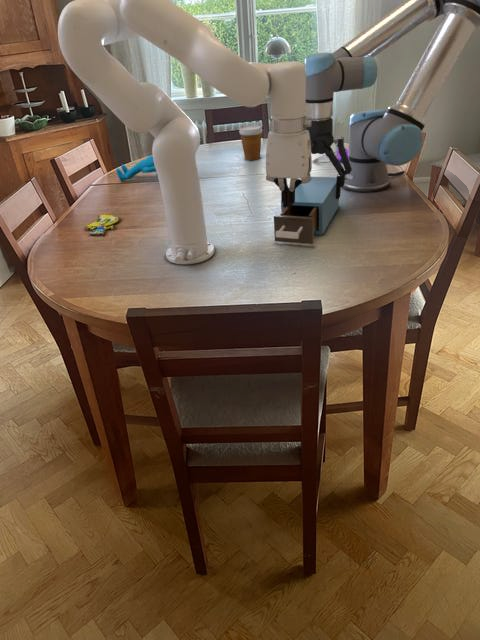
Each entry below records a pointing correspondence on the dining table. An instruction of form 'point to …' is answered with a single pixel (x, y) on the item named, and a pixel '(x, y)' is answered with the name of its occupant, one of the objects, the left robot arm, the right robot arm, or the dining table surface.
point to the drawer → (296, 224)
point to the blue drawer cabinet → (318, 199)
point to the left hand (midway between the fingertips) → (288, 205)
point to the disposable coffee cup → (251, 141)
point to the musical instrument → (334, 152)
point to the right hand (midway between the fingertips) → (318, 196)
